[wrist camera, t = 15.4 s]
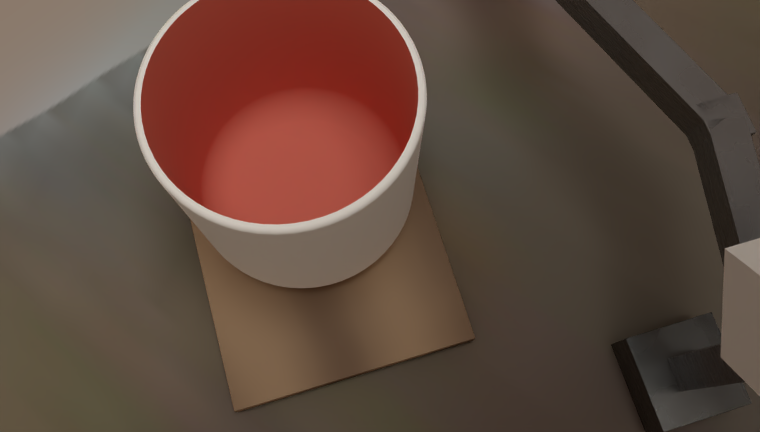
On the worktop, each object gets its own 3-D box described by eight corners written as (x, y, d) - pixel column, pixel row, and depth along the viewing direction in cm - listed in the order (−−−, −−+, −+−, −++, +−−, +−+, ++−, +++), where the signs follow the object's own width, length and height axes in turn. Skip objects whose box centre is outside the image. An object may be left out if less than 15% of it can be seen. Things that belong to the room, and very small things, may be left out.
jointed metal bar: (519, -92, 39) (563, -255, 30) (734, 403, 31) (885, 389, 22) (441, -73, 39) (461, -232, 30) (639, 434, 31) (752, 433, 22)
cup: (157, 208, 33) (69, 116, 24) (292, 59, 36) (262, -80, 26) (323, 338, 31) (300, 296, 22) (454, 172, 34) (485, 68, 24)
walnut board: (362, 12, 37) (362, 3, 37) (472, 340, 32) (475, 337, 31) (157, 65, 36) (153, 57, 36) (237, 411, 31) (234, 411, 30)
